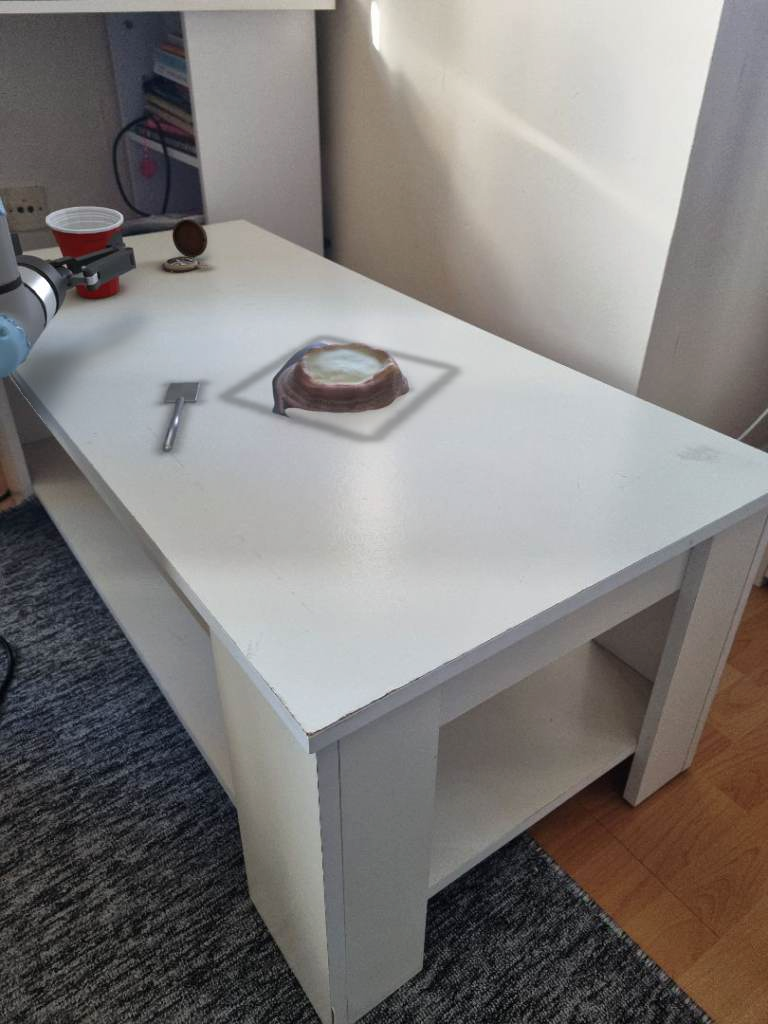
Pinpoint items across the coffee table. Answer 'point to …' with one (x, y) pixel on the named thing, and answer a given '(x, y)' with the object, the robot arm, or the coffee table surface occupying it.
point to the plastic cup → (86, 238)
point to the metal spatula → (178, 407)
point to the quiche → (338, 379)
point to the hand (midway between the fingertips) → (69, 242)
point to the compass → (187, 246)
